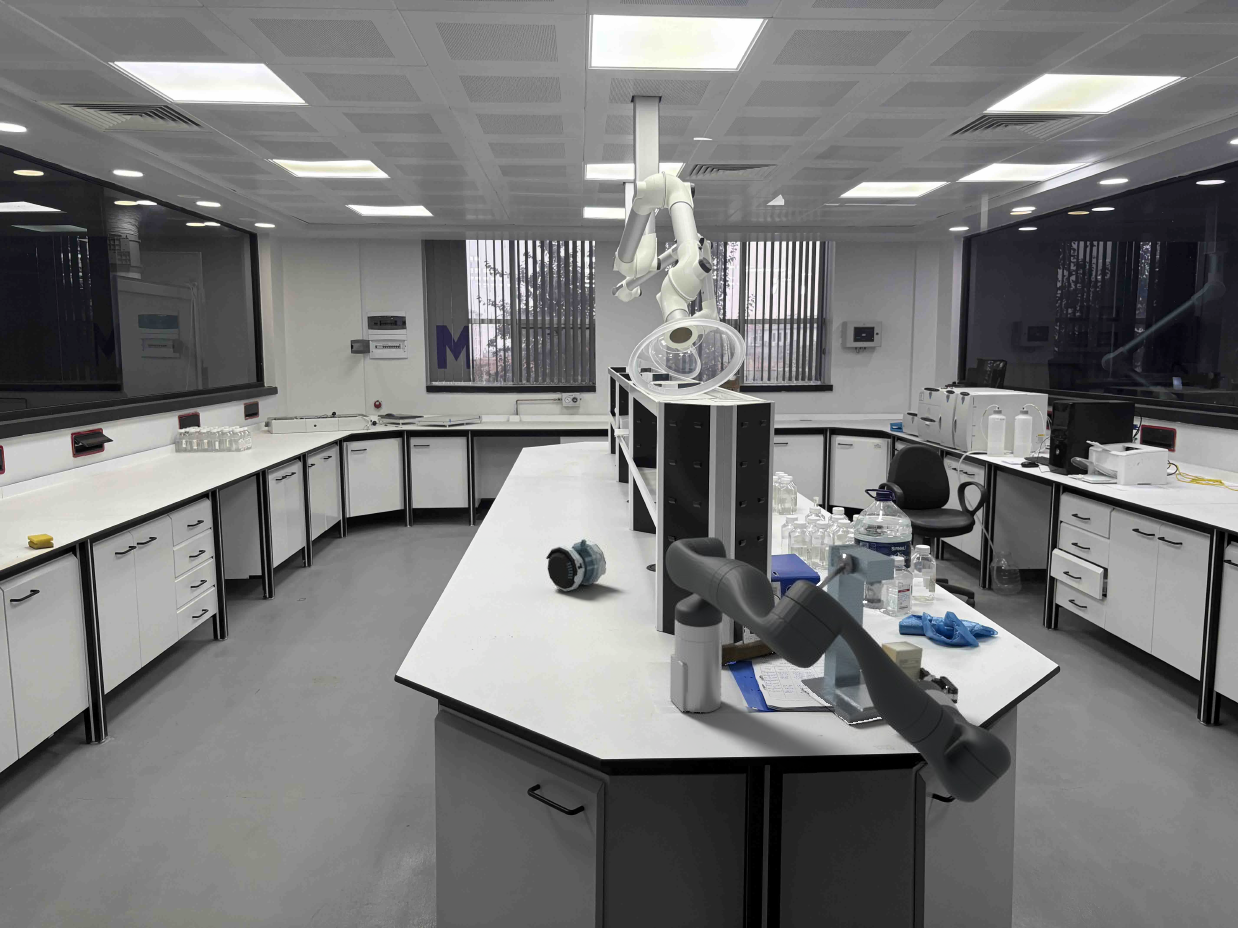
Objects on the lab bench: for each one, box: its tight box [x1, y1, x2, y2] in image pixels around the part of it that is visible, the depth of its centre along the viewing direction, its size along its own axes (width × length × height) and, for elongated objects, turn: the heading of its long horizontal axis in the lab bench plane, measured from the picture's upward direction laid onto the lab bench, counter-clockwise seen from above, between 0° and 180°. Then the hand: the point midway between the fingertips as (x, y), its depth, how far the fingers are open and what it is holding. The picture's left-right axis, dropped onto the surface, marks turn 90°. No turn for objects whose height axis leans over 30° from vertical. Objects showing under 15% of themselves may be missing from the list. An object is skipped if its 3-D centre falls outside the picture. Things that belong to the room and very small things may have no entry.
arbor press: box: [800, 542, 896, 723], centre depth 156 cm, size 22×17×30 cm
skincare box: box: [881, 641, 923, 681], centre depth 146 cm, size 6×4×12 cm
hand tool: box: [722, 639, 774, 666], centre depth 181 cm, size 19×4×5 cm, turn 117°
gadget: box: [545, 538, 607, 592], centre depth 234 cm, size 14×13×15 cm
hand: (898, 671), depth 146 cm, fingers closed on skincare box, 7 cm apart
